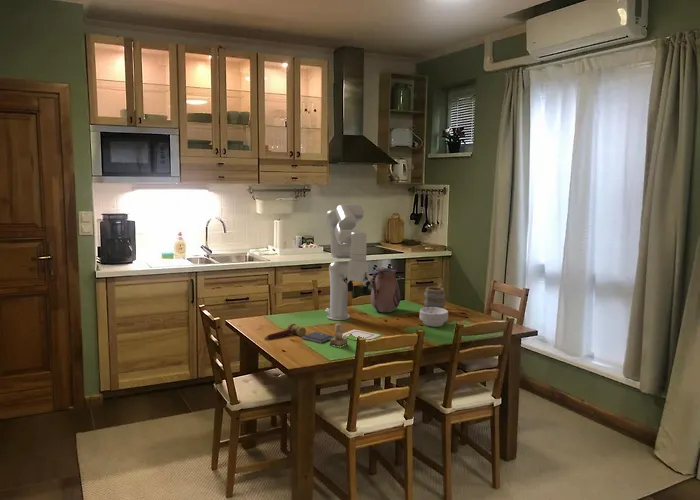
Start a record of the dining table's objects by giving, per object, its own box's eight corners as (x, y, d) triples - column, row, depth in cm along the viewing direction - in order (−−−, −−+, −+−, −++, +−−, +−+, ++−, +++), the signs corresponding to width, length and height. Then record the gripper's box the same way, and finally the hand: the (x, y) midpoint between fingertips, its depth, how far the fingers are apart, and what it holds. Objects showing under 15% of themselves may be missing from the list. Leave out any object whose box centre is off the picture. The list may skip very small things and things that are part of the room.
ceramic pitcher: (404, 309, 335) (406, 268, 331) (388, 317, 317) (390, 273, 313) (378, 305, 344) (379, 265, 340) (361, 313, 326) (362, 270, 322)
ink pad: (301, 338, 274) (301, 335, 274) (314, 334, 282) (315, 331, 282) (321, 343, 267) (321, 340, 267) (334, 338, 275) (334, 335, 275)
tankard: (440, 315, 323) (441, 289, 321) (419, 312, 329) (420, 287, 327) (452, 308, 340) (453, 284, 338) (432, 305, 347) (433, 281, 344)
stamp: (329, 345, 264) (330, 324, 263) (337, 342, 269) (337, 322, 268) (340, 348, 261) (340, 327, 260) (347, 344, 266) (348, 324, 264)
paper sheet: (336, 336, 279) (336, 335, 279) (354, 329, 291) (354, 329, 291) (363, 342, 270) (363, 341, 270) (380, 335, 282) (380, 334, 282)
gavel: (269, 336, 267) (258, 331, 275) (270, 345, 268) (259, 340, 275) (305, 326, 280) (294, 322, 288) (306, 335, 281) (295, 330, 288)
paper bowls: (440, 330, 294) (441, 315, 292) (414, 325, 302) (414, 310, 301) (452, 323, 306) (452, 309, 305) (426, 319, 314) (426, 305, 313)
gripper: (339, 256, 273) (339, 291, 275) (367, 260, 261) (366, 296, 263) (350, 255, 278) (349, 289, 280) (377, 258, 267) (376, 294, 269)
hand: (357, 292), depth 272 cm, fingers open, 9 cm apart
